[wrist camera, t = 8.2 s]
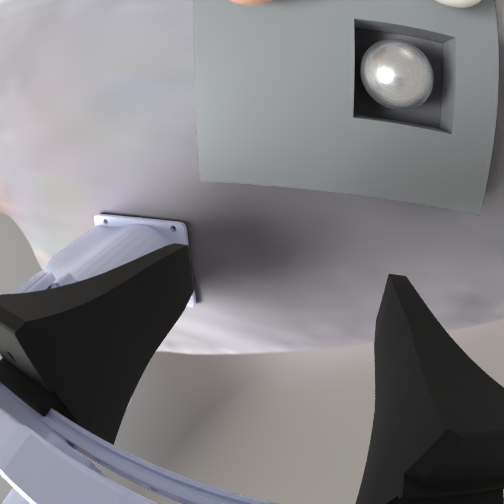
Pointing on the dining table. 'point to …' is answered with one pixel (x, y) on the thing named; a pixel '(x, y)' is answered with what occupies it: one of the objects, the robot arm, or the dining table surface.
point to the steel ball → (396, 74)
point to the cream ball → (459, 3)
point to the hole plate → (341, 100)
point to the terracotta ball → (250, 2)
